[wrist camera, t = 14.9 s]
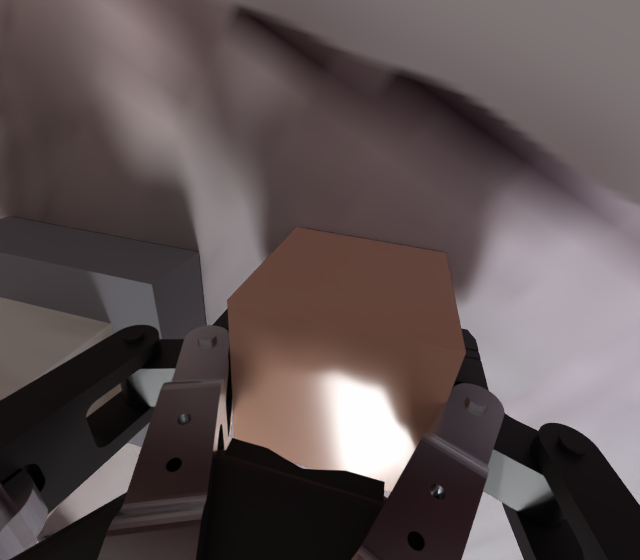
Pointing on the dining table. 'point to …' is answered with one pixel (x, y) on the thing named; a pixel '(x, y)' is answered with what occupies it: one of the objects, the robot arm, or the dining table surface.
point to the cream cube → (43, 345)
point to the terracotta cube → (343, 352)
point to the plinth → (102, 279)
